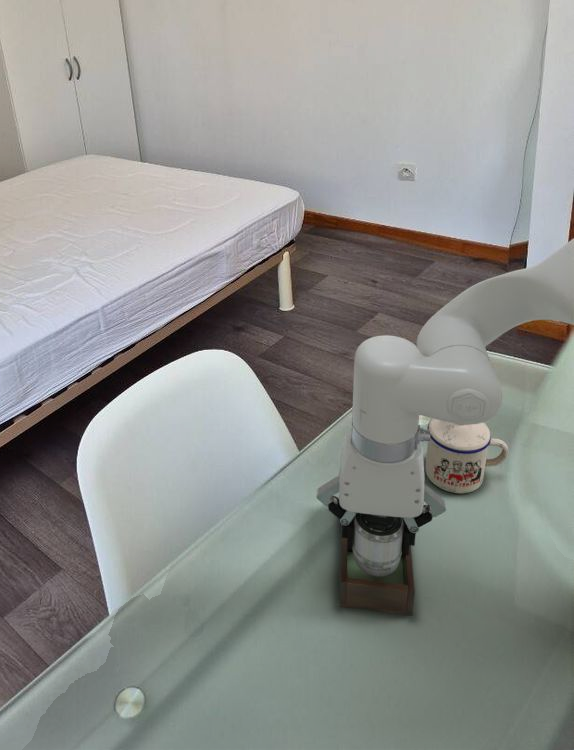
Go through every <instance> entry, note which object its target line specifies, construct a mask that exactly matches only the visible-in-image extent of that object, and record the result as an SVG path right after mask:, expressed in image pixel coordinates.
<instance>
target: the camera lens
mask: <svg viewBox="0 0 574 750" xmlns="http://www.w3.org/2000/svg"><path fill="white" fill-rule="evenodd" d="M353 521H354V527H353V555H354V558H355V561H356V564H357V565H358V566H359V568H360V569H361V570H363V571H364V572H366V573H367V574H370V575H373V576H377V577H380V576H386V575H389V574H391V573H393V572H394V571H395V569H396V568H397V566H398V564H399V562H400V558H401V554H402V544H403V532H404V521H403V518H402V517H392V516H382V515H373V514H364V513H356V515H355V516H354V518H353Z"/></svg>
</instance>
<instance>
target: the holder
mask: <svg viewBox="0 0 574 750" xmlns="http://www.w3.org/2000/svg"><path fill="white" fill-rule="evenodd" d="M402 518H403V517H402ZM340 541H341V543H340V544H341V545H340V577H339V578H340V579H339V580H340V582H339V583H340V584H339V606H340V607H344V608H352V609H360V610H368V611H375V612H381V613H382V612H383V613H390V614H399V615H406V616H413V615H414V604H415V593H416V589H415V588H416V587H415V576H414V565H413V552H412V545H409V555H404V554H403V552H402V554H401V558H400V562H399V564H398V566H397V568H396V569H395V571H394V572H393V573H391V574H389V575H386V576H380V577H377V576H373V575H370V574H367V573H366V572H364V571H363V570H361V569H360V568H359V566H358V565H357V564H356V561H355V558H354V555H353V548H351V549H348V548H347V538H342V535H341V540H340Z"/></svg>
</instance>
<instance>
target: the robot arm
mask: <svg viewBox="0 0 574 750" xmlns="http://www.w3.org/2000/svg"><path fill="white" fill-rule="evenodd" d="M541 320H543V321H546V320H547V321H548V320H549V321H555V322H561V323H565V324H568V325H571V326H574V237H573V238H572V239H570V240H569V241H568V242H567V243H566V244H564V245H563V246H562V247H560V248H559V249H557V250H556V251H555V252H554V253H553V254H550V256H548V257H547V258H545V259H544V260H543V261H541V262H540V263H538V264H536V265H533V266H531V267H526V268H520V269H516V270H513V271H508V272H505V273H503V274H499V275H497V276H493V277H490V278H487V279H484V280H481V281H480V282H478V283H475V284H473V285H471V286H470V287H468V288H466V289H465V290H463V291H462V292H460V293H459V294H458V295H457V296H455V297H454V298H453V299H452V300H450V301H449V302H448V303H446V304H445V305H444V306H442V307H441V308H440V309H439V310H438V311H436V312H435V314H433V315H432V316H430V318H429V319H428V320H427V321H426V323H424V325H423V326H422V328H421V329H420V330H419V333H418V335H417V338H416V343H415V344H414V343H413V342H412V341H409V340H407V339H406V338H403V337H400V336H395V335H377V336H372V337H370V338H368V339H365V340H364V341H362V342H361V343H360V344H359V345H358V346H357V348H356V351H355V353H354V358H353V359H354V360H353V379H352V380H353V382H352V383H353V384H352V408H351V409H352V410H351V411H352V412H351V429H349V430H348V431H347V432H346V433H345V436H344V439H343V443H342V446H341V453H340V459H339V470H338V475H337V476H335V477H334V478H332V479H331V480H329V481H327V482H326V483H324V484H322V485H320V486H319V487H318V488H317V489H316V496H315V497H316V499H317V501H319V502H320V503H321V504H323V506H325V507H327V510H328V511H329V512H330V513H332V514H333V516H335V517H336V518H337V519H339V524H341V536H342V538H347V548H348V549H351V548H353V527H354V521H353V518H354V516H355V515H356V513H364V514H373V515H382V516H392V517H403V521H404V532H403V544H402V552H403V554H404V555H409V545H411V547H412V546H415V545H416V534H417V533H419V531H420V528H421V527H423V526H425V525H427V524H429V523H430V522H432V521H433V518H436V517H438V516H440V515H441V514H443V513H445V512H446V511H447V507H446V501H445V500H444V499H443V498H442V497H441V496H439V495H438V494H437V493H436V492H434V490H433V489H432V488H430V487H429V486H428V485H427V484H425V459H424V458H425V455H424V447H423V442H428V441H430V437H431V434H430V430H429V429H428V428H424V427H421V425H420V423H419V422H420V416H422V417H427V418H431V419H432V418H434V419H438V420H442V421H446V422H451V423H456V424H465V425H471V424H479V423H483V422H484V423H486V422H488V421H490V420H491V419H493V418H494V417H495V416H496V415H498V412H499V411H500V410H501V408H502V405H503V390H502V386H501V383H500V381H499V378H498V375H497V372H496V371H495V369H494V366H493V364H492V361H491V357H490V356H489V352H488V351H487V346H488V345H490V344H491V343H492V342H494V341H495V340H497V339H498V338H499V337H501V336H502V335H503V334H505V333H506V332H508V331H510V330H511V329H513V328H516V327H518V326H520V325H523V324H526V323H529V322H533V321H541ZM337 494H338V497H337V496H336V495H337ZM424 503H426V504H424Z"/></svg>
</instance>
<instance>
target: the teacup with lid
mask: <svg viewBox="0 0 574 750" xmlns="http://www.w3.org/2000/svg"><path fill="white" fill-rule="evenodd" d="M427 429H429V430H430V434H431V437H430V441H427V447H426V458H425V465H424V471H425V475H426V476H427V478H428V479H429V480H430V482H431V483H433V485H434V486H436V487H438V488H439V489H441V490H444V491H446V492H449V493H453V494H467V493H471V492H474V491H475V490H477V489H479V488H480V487H481V485H482V484H483V482H484V476H485V472H486V471H485V469H486V467H487V468H488V467H496V466H499V465H501V464H502V463H504V462H505V461H506V459H507V458H508V456H509V447H508V444H507V443H506V442H505V441H503V440H501V439H499V438H492V434H491V432H490V429H489V428H488V426H487V424H486V422H483V423H479V424H471V425H465V424H456V423H451V422H446V421H442V420H438V419H434V418H431V419H430V420H429V422H428V424H427ZM491 446H492V447H493V446H494V447H499V448H501V449H502V450H501V452H500V453H499V455H497V456H496V457H494V458H487V456H488V449H489V447H491Z"/></svg>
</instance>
